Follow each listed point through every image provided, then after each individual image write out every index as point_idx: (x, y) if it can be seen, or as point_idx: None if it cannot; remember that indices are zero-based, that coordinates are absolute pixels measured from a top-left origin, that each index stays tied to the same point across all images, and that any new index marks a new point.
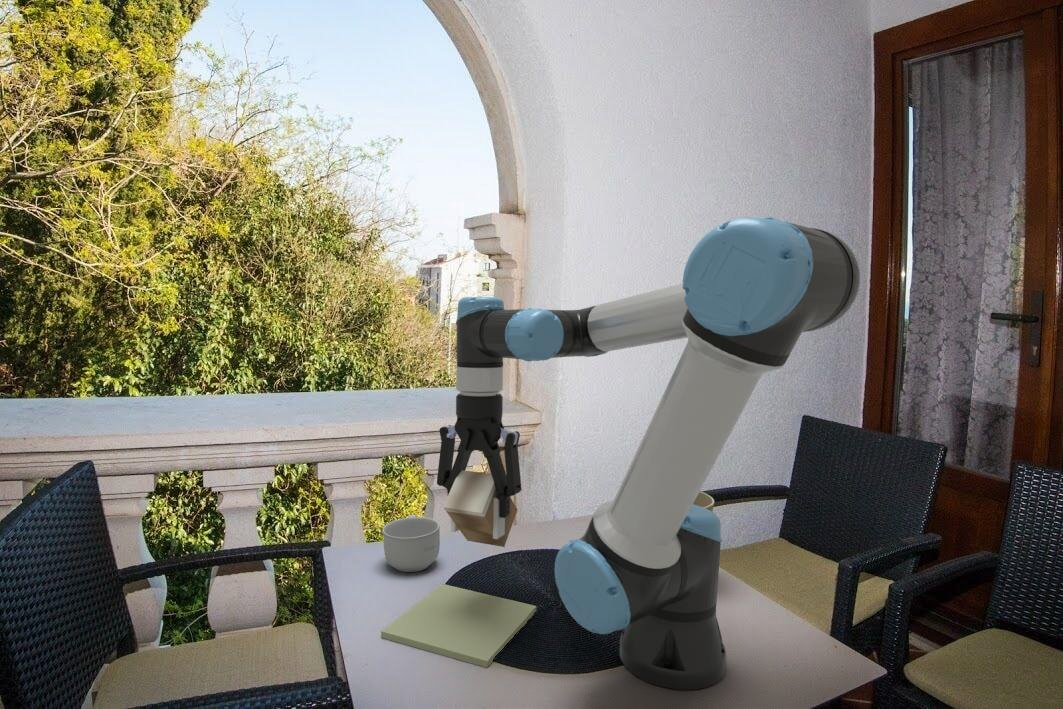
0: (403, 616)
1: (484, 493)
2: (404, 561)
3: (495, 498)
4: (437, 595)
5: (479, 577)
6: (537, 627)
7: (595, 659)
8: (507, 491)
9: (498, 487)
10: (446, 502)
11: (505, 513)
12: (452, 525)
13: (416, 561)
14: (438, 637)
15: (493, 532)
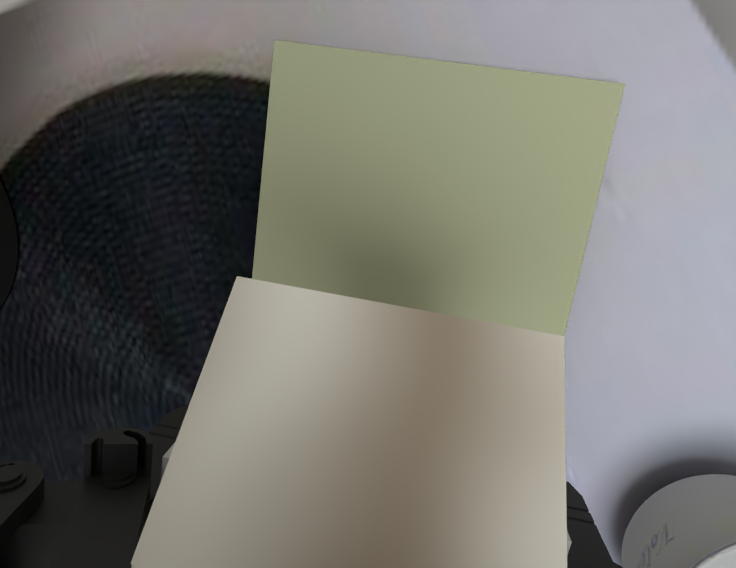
0: (590, 188)
1: (225, 438)
2: (719, 482)
3: None
4: None
5: None
6: (224, 276)
7: (58, 174)
8: (61, 509)
9: (109, 521)
10: (552, 372)
11: (164, 417)
12: None
13: (676, 492)
14: (443, 109)
15: None
